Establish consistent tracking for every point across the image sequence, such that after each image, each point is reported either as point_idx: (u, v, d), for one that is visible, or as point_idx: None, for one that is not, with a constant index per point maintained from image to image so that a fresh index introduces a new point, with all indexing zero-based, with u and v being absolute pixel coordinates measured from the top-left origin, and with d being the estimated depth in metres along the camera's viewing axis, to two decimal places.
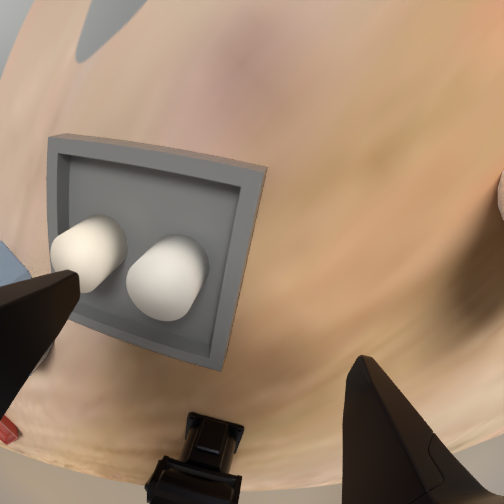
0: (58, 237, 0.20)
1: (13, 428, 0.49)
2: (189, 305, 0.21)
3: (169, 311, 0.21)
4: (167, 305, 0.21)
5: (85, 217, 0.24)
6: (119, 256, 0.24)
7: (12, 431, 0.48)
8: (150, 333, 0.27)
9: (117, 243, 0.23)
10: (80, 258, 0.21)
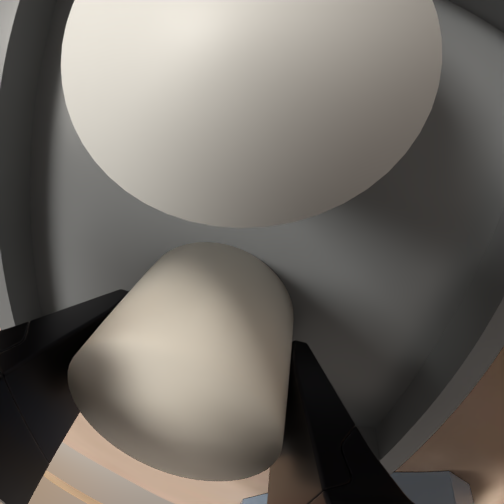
0: (97, 429, 0.07)
1: None
2: None
3: None
4: None
5: None
6: (222, 268, 0.08)
7: None
8: None
9: (178, 263, 0.08)
10: (134, 399, 0.06)
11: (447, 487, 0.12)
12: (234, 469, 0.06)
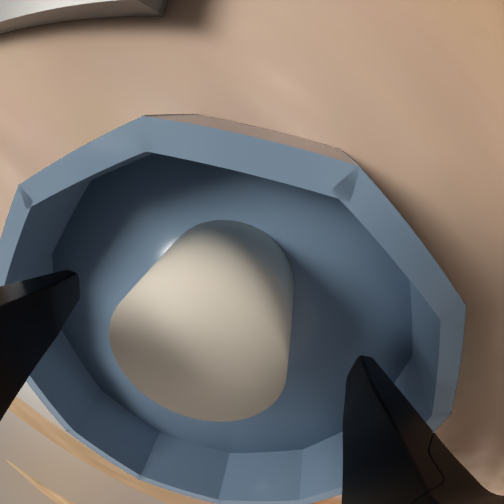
0: (128, 376, 0.09)
1: None
2: None
3: None
4: None
5: None
6: (236, 237, 0.10)
7: None
8: None
9: (201, 234, 0.10)
10: (168, 337, 0.08)
11: (329, 148, 0.09)
12: (246, 405, 0.08)
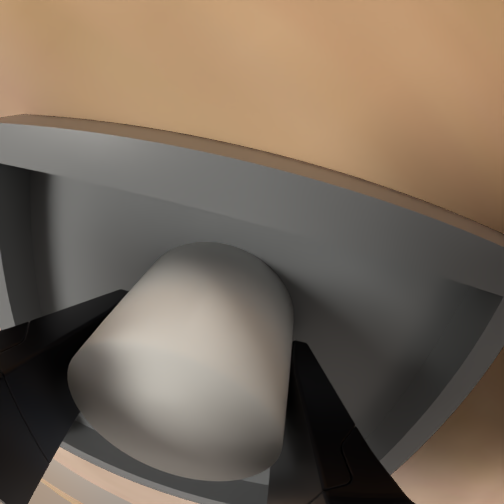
0: None
1: None
2: (194, 364, 0.05)
3: (237, 425, 0.05)
4: (214, 424, 0.05)
5: None
6: None
7: None
8: (402, 415, 0.10)
9: None
10: None
11: None
12: None
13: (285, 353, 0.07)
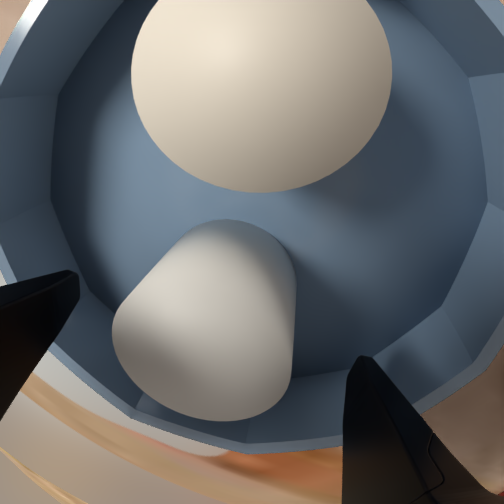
0: (148, 123, 0.06)
1: None
2: (225, 296, 0.07)
3: (255, 353, 0.07)
4: (237, 354, 0.07)
5: None
6: None
7: None
8: None
9: None
10: (224, 23, 0.05)
11: None
12: (338, 133, 0.05)
13: (291, 303, 0.09)
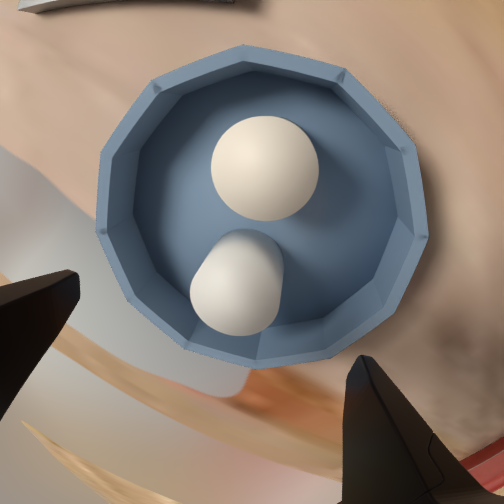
0: (219, 191, 0.15)
1: None
2: (250, 264, 0.16)
3: (262, 292, 0.17)
4: (254, 292, 0.17)
5: None
6: (280, 117, 0.16)
7: None
8: None
9: None
10: (251, 151, 0.14)
11: None
12: (296, 198, 0.14)
13: (280, 271, 0.18)
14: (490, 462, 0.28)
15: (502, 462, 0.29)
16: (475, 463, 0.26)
